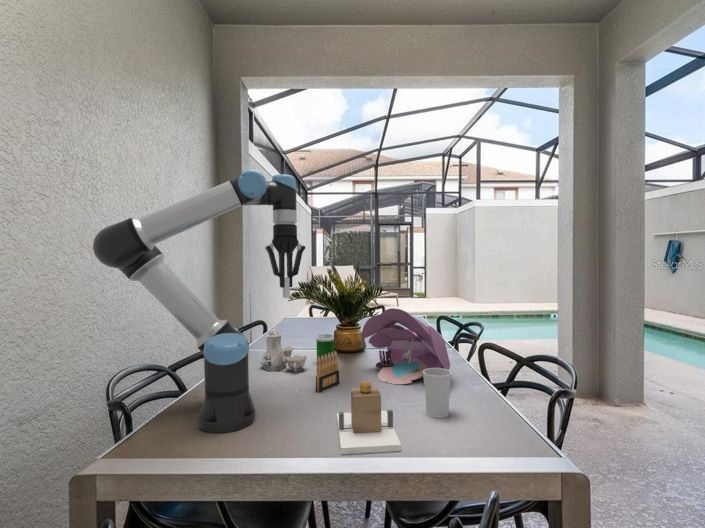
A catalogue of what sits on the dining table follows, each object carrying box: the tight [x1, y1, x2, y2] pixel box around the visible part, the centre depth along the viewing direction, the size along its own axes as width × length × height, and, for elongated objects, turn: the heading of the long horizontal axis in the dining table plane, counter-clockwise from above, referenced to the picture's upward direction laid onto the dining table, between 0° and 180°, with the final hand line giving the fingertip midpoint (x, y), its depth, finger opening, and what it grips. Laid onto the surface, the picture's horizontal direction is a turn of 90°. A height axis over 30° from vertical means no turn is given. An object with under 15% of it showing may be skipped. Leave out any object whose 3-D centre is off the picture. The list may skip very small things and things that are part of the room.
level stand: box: [336, 409, 402, 455], centre depth 100 cm, size 20×14×6 cm
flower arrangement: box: [361, 307, 451, 385], centre depth 146 cm, size 35×24×28 cm
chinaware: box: [260, 328, 307, 373], centre depth 162 cm, size 28×17×17 cm, turn 32°
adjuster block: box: [350, 380, 382, 433], centre depth 100 cm, size 6×7×12 cm
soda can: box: [316, 333, 335, 361], centre depth 165 cm, size 8×8×12 cm
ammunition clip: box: [315, 350, 340, 393], centre depth 135 cm, size 11×2×12 cm, turn 143°
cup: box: [422, 368, 452, 419], centre depth 112 cm, size 8×8×12 cm
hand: (286, 297), depth 126 cm, fingers closed
